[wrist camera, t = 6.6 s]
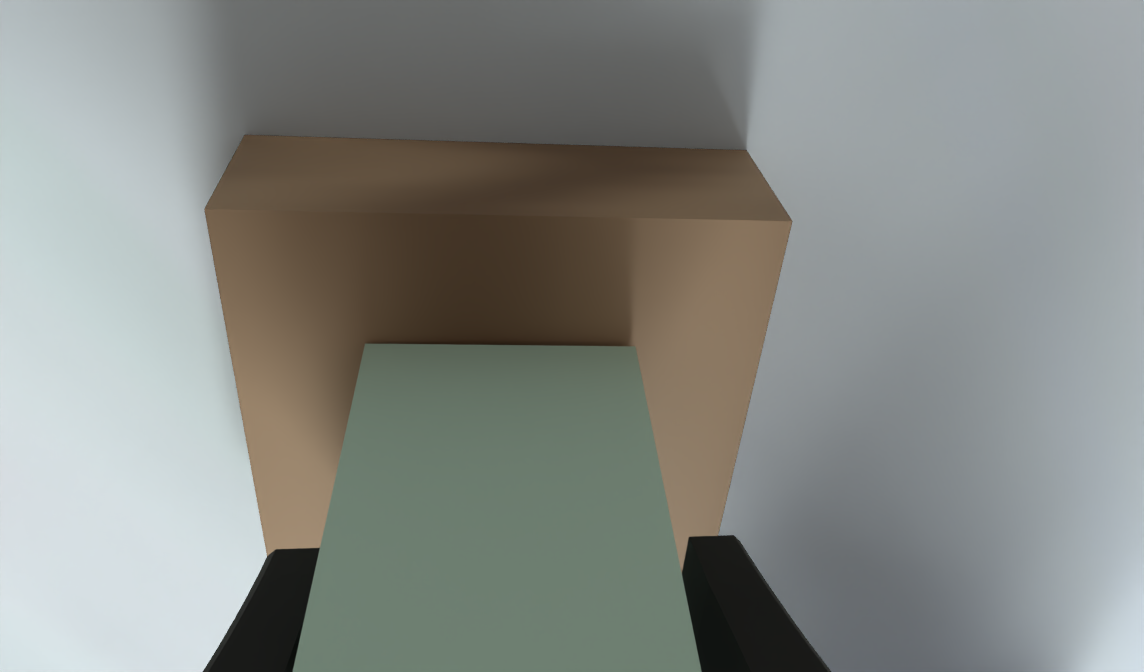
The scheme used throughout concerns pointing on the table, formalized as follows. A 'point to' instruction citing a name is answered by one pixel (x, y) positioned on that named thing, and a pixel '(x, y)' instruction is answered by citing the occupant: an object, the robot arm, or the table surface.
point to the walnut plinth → (490, 289)
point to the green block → (498, 519)
